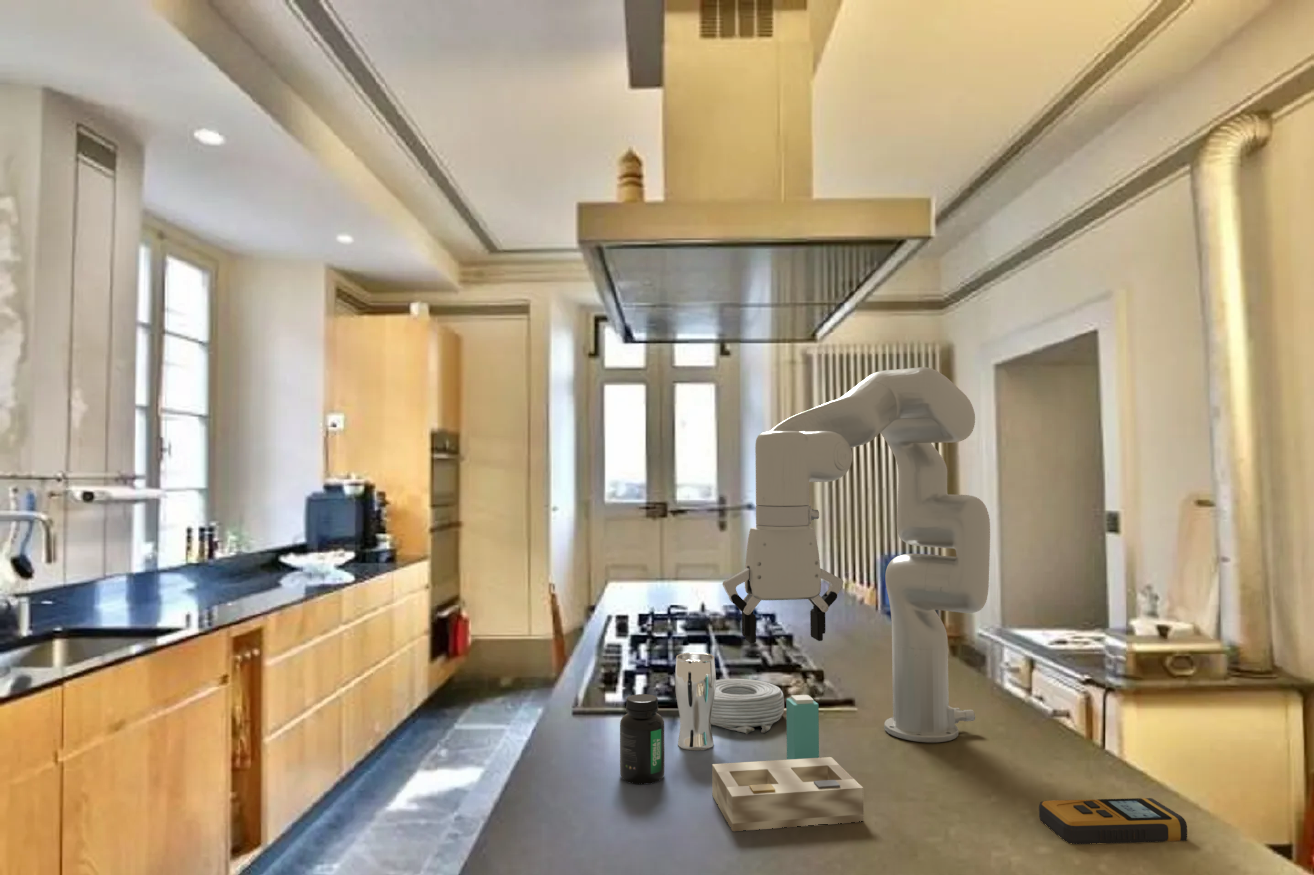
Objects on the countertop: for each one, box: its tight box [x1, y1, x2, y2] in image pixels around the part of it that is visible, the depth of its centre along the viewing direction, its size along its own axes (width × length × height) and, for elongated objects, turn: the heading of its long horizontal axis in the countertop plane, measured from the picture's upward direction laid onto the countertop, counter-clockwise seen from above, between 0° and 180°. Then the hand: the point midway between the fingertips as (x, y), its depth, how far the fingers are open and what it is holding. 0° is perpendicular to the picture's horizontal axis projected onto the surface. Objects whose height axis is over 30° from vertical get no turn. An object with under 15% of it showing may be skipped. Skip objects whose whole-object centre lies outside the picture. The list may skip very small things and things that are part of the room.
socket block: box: [711, 756, 865, 832], centre depth 116 cm, size 18×12×5 cm, turn 99°
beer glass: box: [674, 652, 717, 752], centre depth 143 cm, size 7×7×15 cm
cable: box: [711, 678, 785, 735], centre depth 158 cm, size 18×18×6 cm
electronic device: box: [1038, 797, 1188, 845], centre depth 109 cm, size 8×16×3 cm, turn 93°
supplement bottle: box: [619, 693, 666, 785], centre depth 128 cm, size 7×7×12 cm
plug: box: [785, 694, 820, 760], centre depth 133 cm, size 4×4×11 cm
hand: (783, 640), depth 117 cm, fingers open, 9 cm apart
